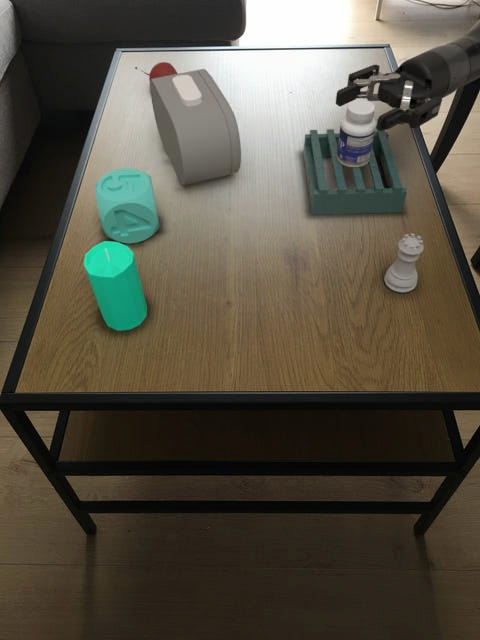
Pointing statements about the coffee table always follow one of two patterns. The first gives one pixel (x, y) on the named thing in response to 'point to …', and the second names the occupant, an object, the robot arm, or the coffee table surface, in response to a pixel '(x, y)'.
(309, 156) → the rack
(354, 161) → the pill bottle
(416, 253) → the rook chess piece
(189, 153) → the alarm clock
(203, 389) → the coffee table surface
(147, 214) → the decorative dice
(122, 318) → the candle
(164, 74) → the fruit
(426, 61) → the robot arm
